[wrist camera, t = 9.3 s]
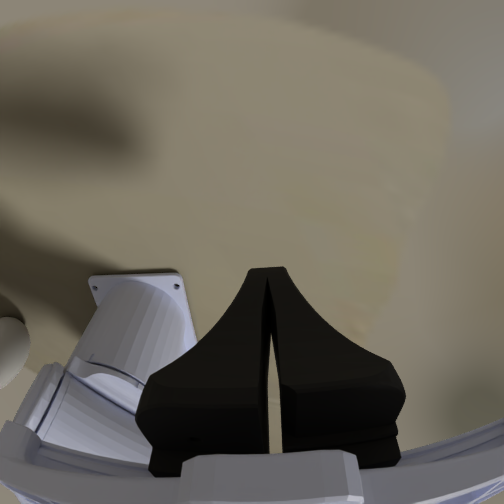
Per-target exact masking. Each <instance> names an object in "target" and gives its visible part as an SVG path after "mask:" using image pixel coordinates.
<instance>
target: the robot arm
mask: <svg viewBox="0 0 504 504" xmlns="http://www.w3.org/2000/svg"><path fill="white" fill-rule="evenodd" d="M88 284H89V286H90V289H91V292H92V294H93V297H94V299H95V302H96V305H97V307H98V308H97V310H96V312H95V313H94V315H93V317H92V318H91V320H90V322H89V324H88V325H87V327H86V329H85V331H84V333H83V334H82V336H81V338H80V340H79V342H78V343H77V345H76V347H75V349H74V351H73V353H72V355H71V356H70V358H69V360H68V362H67V364H66V366H65V367H63V366H62V365H61V364H59V363H58V362H54V363H53V364H45V365H44V366H43V367H42V369H41V370H40V372H39V373H38V375H37V377H36V378H35V380H34V382H33V383H32V385H31V387H30V389H29V390H28V392H27V394H26V396H25V398H24V400H23V402H22V403H21V405H20V407H19V409H18V411H17V413H16V415H15V417H14V420H13V422H12V421H9V420H7V421H6V422H5V424H4V426H3V428H2V430H1V432H0V483H1V484H2V485H3V486H5V487H6V488H8V489H9V490H11V491H12V492H13V493H14V494H15V496H16V497H17V499H18V500H19V502H20V503H21V504H479V503H480V502H483V501H485V500H487V499H488V498H490V497H492V496H494V495H496V494H498V493H500V492H501V491H503V490H504V418H502V419H499V420H497V421H495V422H492V423H490V424H487V425H485V426H482V427H480V428H477V429H474V430H472V431H469V432H466V433H463V434H460V435H458V436H455V437H452V438H449V439H446V440H443V441H440V442H436V443H433V444H429V445H426V446H422V447H419V448H415V449H411V450H407V451H403V452H400V450H399V446H398V442H397V439H396V436H397V435H398V429H397V425H396V422H395V421H396V419H397V417H398V415H399V413H400V411H401V409H402V407H403V405H404V402H405V399H406V394H405V390H404V387H403V384H402V382H401V379H400V378H399V376H398V374H397V372H396V370H395V369H394V367H393V365H392V363H391V362H390V361H388V360H386V359H384V358H382V357H380V356H377V355H375V354H373V353H371V352H369V351H367V350H365V349H364V348H362V347H360V346H359V345H357V344H355V343H353V342H352V341H350V340H349V339H348V338H346V337H345V336H343V335H342V334H341V333H339V332H338V331H337V330H335V329H334V328H333V327H332V326H331V325H329V324H328V323H327V322H326V321H325V320H324V319H323V318H322V317H321V316H320V315H319V314H318V313H317V312H316V311H315V310H314V309H313V308H312V306H311V305H310V304H309V303H308V302H307V301H306V299H305V298H304V297H303V295H302V294H301V293H300V291H299V290H298V289H297V287H296V286H295V284H294V283H293V281H292V279H291V278H290V276H289V274H288V272H287V270H286V268H285V267H268V268H252V269H250V270H249V271H248V273H247V276H246V278H245V281H244V283H243V285H242V286H241V288H240V290H239V292H238V293H237V295H236V297H235V299H234V300H233V302H232V303H231V305H230V306H229V307H228V309H227V310H226V312H225V313H224V315H223V316H222V317H221V318H220V320H219V321H218V322H217V323H216V324H215V326H214V327H213V328H212V329H211V330H210V331H209V332H208V333H207V334H206V335H205V336H204V337H203V338H202V339H201V340H200V341H199V342H198V343H197V339H196V335H195V331H194V327H193V323H192V318H191V314H190V310H189V306H188V301H187V297H186V292H185V288H184V283H183V278H182V276H181V275H180V274H178V273H153V274H126V275H96V276H91V277H90V278H89V279H88ZM174 284H178V285H179V286H178V287H177V286H175V285H174ZM95 286H96V287H97V288H96V287H95ZM271 335H272V341H273V347H274V353H275V360H276V366H277V372H278V379H279V388H280V407H281V428H282V452H283V453H277V454H270V452H269V420H268V369H269V356H270V341H271Z"/></svg>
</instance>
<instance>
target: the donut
mask: <svg viewBox="0 0 504 504" xmlns="http://www.w3.org/2000/svg"><path fill="white" fill-rule="evenodd" d="M30 343H31V342H30V336H29V332H28V330H27V328H26V326H25V325H24V324H23V323H22V322H21V321H19V320H18V319H16V318H12V317H2V318H0V389H1V388H3V387H4V386H6V385H7V384H8V383H10V381H12V379H13V378H14V377H15V376H16V375H17V374H18V373H19V371H20V370H21V369H22V367H23V366H24V364H25V362H26V360H27V357H28V355H29V349H30Z"/></svg>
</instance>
